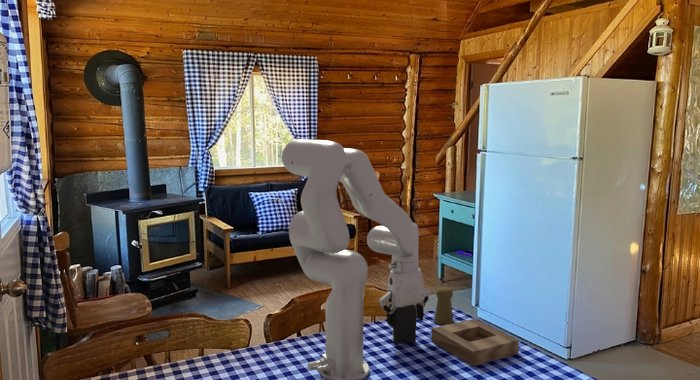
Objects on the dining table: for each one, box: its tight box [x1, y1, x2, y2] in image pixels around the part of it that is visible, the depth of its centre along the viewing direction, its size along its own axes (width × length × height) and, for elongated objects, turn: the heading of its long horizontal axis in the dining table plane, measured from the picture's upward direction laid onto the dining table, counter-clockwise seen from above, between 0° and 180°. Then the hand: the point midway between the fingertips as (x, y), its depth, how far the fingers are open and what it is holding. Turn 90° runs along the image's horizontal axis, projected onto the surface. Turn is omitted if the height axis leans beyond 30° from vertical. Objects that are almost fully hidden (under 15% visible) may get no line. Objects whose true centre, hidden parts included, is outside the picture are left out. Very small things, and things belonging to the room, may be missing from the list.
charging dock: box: [431, 318, 520, 367], centre depth 152 cm, size 16×18×4 cm
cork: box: [433, 286, 454, 326], centre depth 171 cm, size 6×6×11 cm
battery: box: [392, 304, 418, 344], centre depth 156 cm, size 7×4×11 cm, turn 94°
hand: (405, 322), depth 156 cm, fingers open, 9 cm apart
